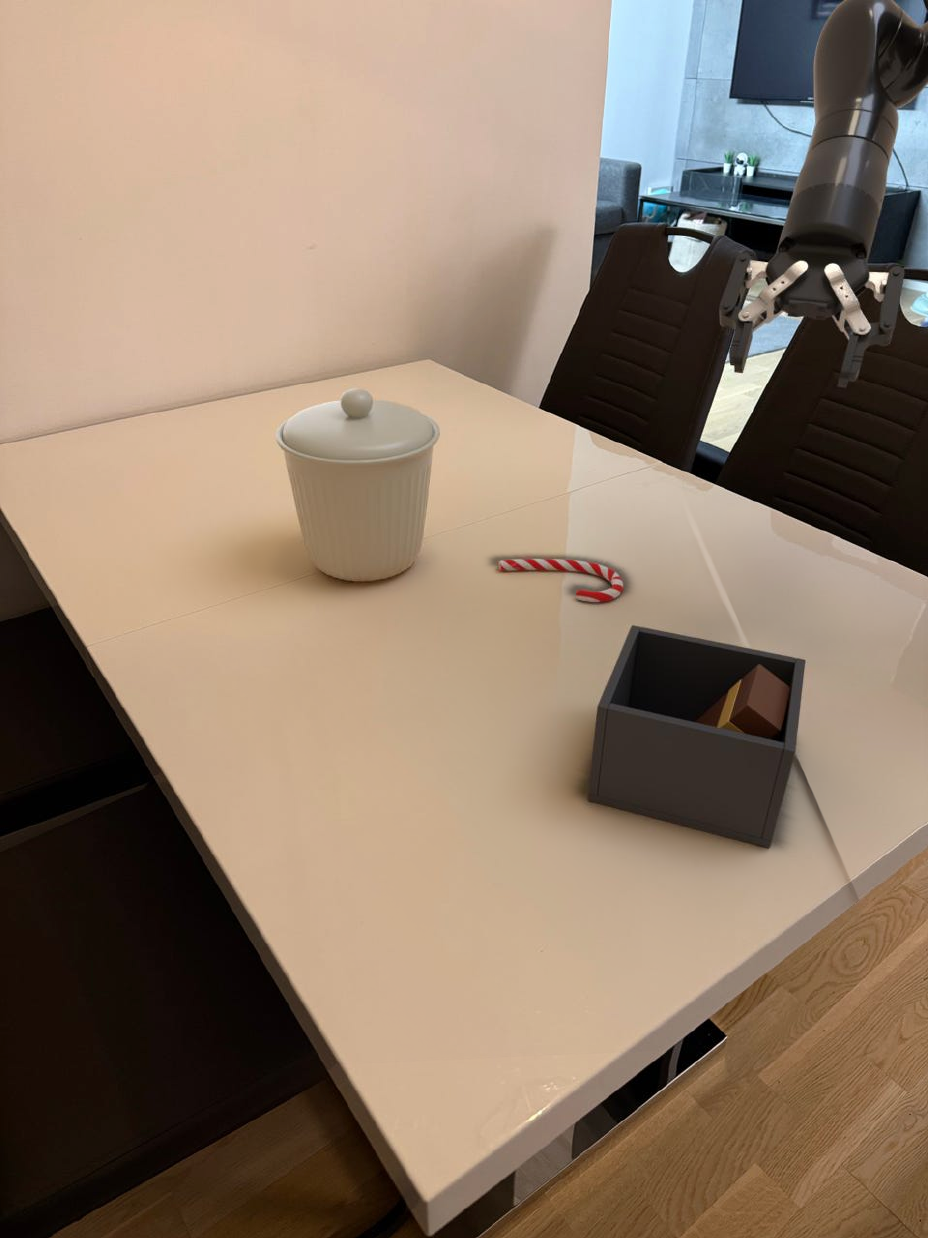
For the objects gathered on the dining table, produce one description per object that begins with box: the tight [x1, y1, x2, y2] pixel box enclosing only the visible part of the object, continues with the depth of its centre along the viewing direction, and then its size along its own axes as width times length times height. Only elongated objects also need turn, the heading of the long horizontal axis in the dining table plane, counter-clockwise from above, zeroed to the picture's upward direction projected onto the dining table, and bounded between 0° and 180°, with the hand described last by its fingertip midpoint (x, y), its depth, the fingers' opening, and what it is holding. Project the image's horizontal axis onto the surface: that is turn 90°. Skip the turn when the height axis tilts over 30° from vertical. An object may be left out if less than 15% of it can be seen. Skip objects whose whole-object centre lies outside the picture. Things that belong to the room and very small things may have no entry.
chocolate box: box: [695, 664, 790, 739], centre depth 74 cm, size 3×6×10 cm, turn 156°
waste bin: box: [586, 624, 806, 849], centre depth 76 cm, size 15×13×10 cm
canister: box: [275, 387, 441, 582], centre depth 105 cm, size 18×18×21 cm
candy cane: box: [497, 558, 624, 603], centre depth 106 cm, size 8×1×15 cm
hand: (789, 375), depth 77 cm, fingers open, 8 cm apart
